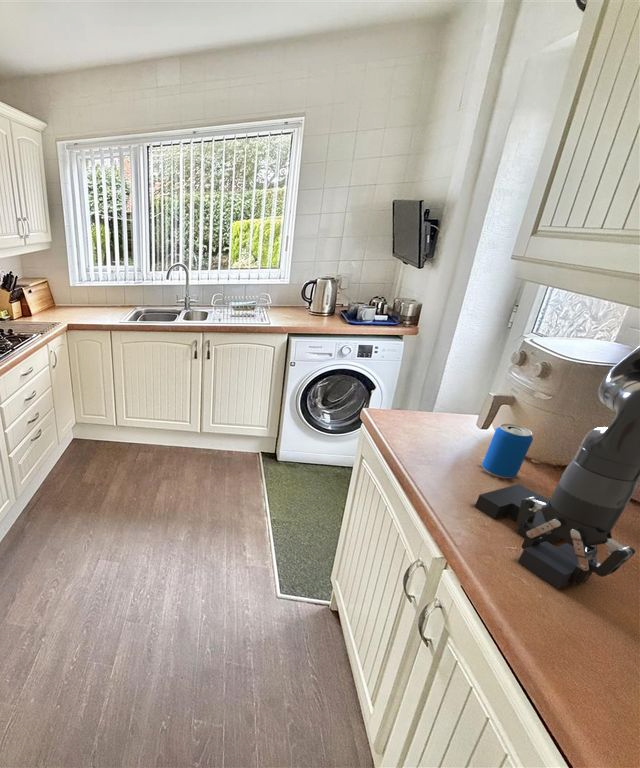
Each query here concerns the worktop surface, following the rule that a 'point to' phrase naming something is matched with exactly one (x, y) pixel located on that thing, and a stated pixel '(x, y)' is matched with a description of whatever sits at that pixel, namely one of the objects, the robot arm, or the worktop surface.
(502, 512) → the base pad
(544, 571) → the pad
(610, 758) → the worktop surface
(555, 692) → the worktop surface
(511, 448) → the beverage can
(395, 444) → the worktop surface
